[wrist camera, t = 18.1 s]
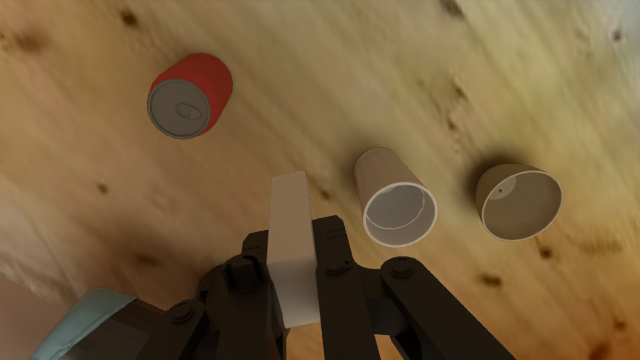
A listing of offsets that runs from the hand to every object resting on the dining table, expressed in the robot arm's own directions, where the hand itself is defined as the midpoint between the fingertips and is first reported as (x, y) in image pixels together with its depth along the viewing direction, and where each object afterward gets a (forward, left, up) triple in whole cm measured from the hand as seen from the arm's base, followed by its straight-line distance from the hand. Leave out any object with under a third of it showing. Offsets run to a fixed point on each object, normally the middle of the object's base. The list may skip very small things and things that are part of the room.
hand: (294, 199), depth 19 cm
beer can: (-10, +1, -31) cm, 33 cm away
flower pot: (+25, -19, -31) cm, 44 cm away
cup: (+9, -14, -31) cm, 35 cm away
